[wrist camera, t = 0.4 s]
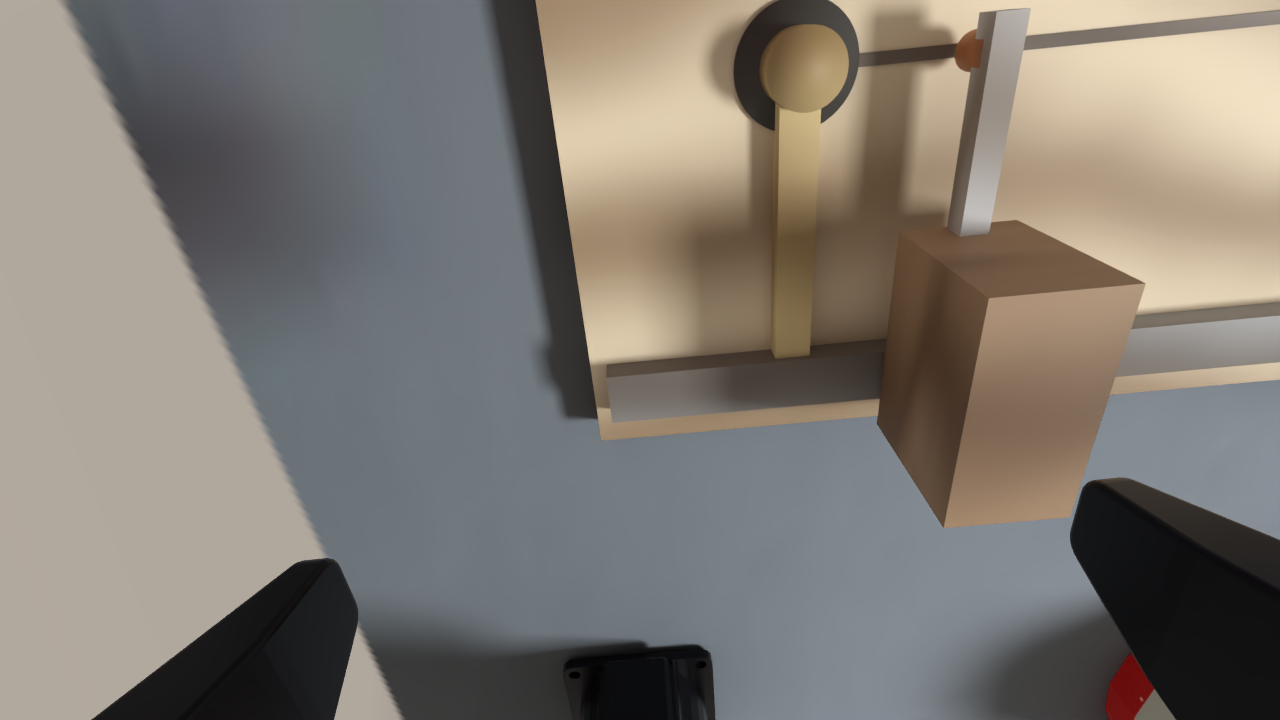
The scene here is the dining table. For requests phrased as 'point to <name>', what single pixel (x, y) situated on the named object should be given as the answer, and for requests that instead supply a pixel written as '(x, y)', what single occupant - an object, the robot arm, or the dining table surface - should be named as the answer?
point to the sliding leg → (998, 329)
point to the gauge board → (897, 186)
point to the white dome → (1134, 696)
